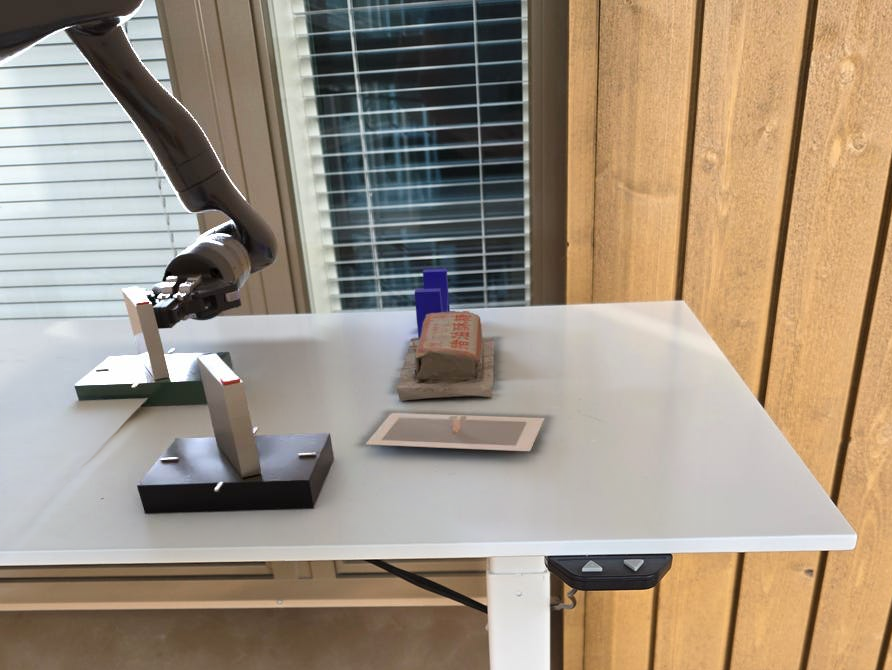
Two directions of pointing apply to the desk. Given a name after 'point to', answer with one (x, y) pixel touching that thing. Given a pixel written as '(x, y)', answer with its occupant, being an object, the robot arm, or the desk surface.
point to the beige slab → (146, 332)
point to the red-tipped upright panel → (229, 414)
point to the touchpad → (458, 431)
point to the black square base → (238, 475)
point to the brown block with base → (448, 359)
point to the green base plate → (147, 380)
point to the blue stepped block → (432, 295)
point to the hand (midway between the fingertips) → (161, 318)
